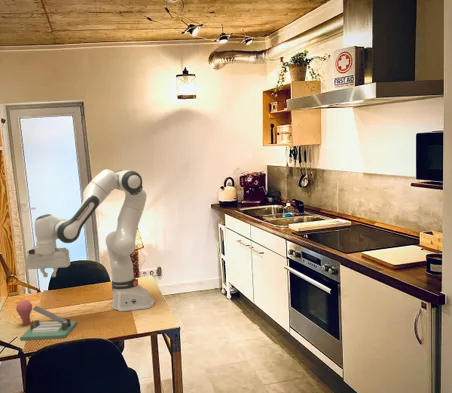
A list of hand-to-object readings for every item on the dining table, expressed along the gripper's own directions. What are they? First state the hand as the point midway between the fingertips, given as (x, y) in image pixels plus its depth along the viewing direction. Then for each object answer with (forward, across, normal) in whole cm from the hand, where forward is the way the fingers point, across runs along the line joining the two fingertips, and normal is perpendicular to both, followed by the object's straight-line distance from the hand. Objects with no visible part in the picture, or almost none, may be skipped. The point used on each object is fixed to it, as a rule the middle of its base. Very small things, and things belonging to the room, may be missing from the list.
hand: (49, 276), depth 220 cm
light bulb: (+23, +14, 0) cm, 27 cm away
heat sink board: (+23, -2, +11) cm, 26 cm away
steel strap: (+16, -3, +11) cm, 20 cm away
